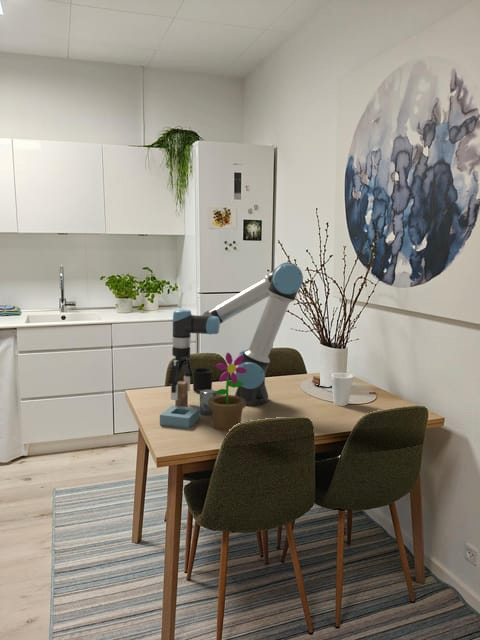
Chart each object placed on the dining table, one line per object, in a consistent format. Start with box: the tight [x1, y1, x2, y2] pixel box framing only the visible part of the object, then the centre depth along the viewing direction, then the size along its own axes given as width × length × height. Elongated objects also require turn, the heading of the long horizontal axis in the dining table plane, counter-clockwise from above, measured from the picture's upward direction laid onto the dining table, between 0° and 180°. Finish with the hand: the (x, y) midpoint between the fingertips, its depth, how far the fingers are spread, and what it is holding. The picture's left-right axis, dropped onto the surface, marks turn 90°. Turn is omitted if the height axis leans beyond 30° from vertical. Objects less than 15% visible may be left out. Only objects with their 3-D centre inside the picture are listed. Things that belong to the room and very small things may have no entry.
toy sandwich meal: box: [311, 375, 321, 385], centre depth 257 cm, size 12×14×5 cm
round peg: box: [199, 389, 217, 417], centre depth 211 cm, size 7×7×9 cm
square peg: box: [174, 380, 189, 407], centre depth 217 cm, size 4×4×11 cm
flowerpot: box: [209, 352, 247, 432], centre depth 195 cm, size 14×14×30 cm
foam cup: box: [330, 372, 354, 407], centre depth 225 cm, size 10×9×13 cm
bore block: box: [159, 405, 201, 429], centre depth 201 cm, size 12×12×4 cm
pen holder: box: [192, 367, 213, 394], centre depth 242 cm, size 9×9×10 cm
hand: (180, 395), depth 217 cm, fingers open, 13 cm apart
